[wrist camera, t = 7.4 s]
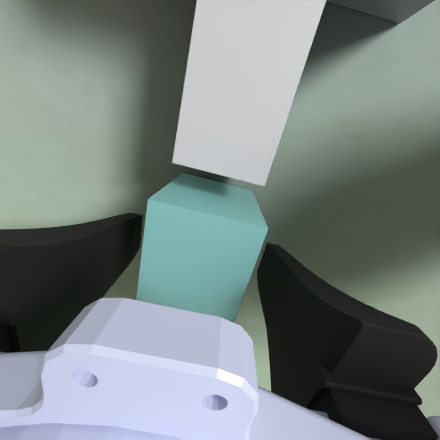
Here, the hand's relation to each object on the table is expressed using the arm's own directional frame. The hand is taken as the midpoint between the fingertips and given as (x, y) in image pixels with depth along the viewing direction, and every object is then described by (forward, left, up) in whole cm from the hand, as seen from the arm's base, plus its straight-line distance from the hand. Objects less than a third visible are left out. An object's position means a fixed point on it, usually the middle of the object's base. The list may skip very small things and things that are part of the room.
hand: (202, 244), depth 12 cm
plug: (0, -5, -1) cm, 5 cm away
